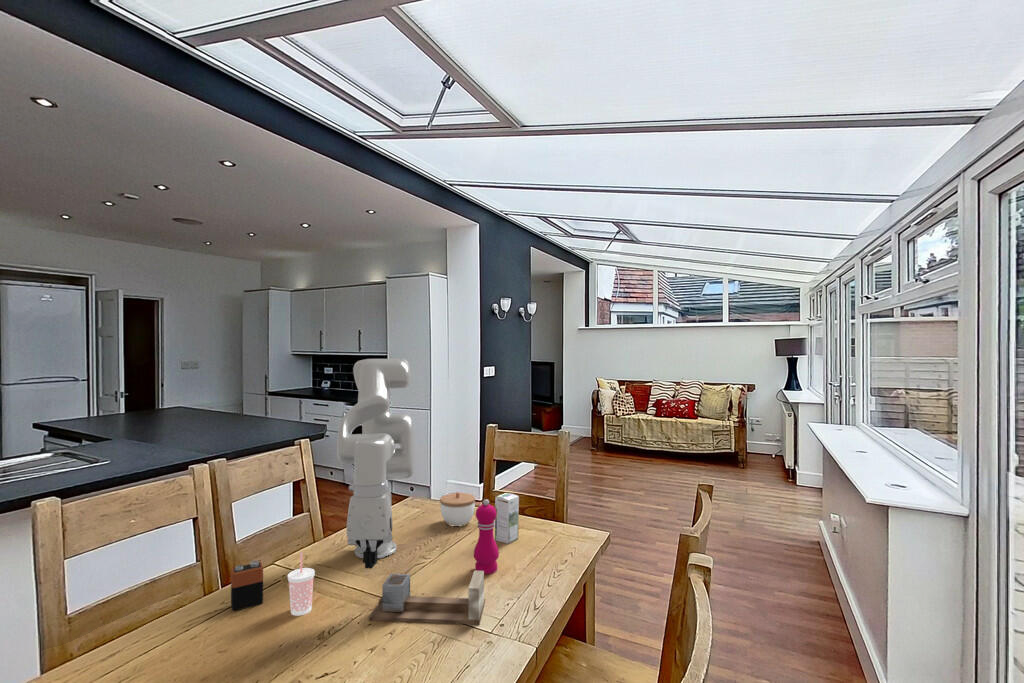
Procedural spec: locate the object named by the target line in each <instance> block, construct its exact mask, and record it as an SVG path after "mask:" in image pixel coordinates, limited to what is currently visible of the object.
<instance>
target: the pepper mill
mask: <svg viewBox="0 0 1024 683" xmlns="http://www.w3.org/2000/svg"><path fill="white" fill-rule="evenodd" d="M496 515H497V512H496V509H495V505H494V506H493V505H492V504H490V501H489V499H483V501H482V504H481V505H480V506H477V508H476V512H475V518H476V521H477V529H478V531H479V532H478V540H477V541H476V542H477V543H476V544H475V547H474V550H473V558H474V560H475V561H476V562H475V563H474V564H475V567H474V568H475V570H474V571H484V575H491V574H494V573H495V572H497V571H498V562H497V560H498V559H499V557H500V556H499V555H500V552H499V547H498V545H497V542H496V540H495V535H494V529H495V518H496Z"/></svg>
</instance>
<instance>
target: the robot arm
mask: <svg viewBox="0 0 1024 683" xmlns="http://www.w3.org/2000/svg"><path fill="white" fill-rule="evenodd" d="M411 375H412V373H411V366H410V363H409V362H408V360H407V359H406V358H365V359H361V360H357V361H356V362H355V363H354V366H353V377H354V382H355V385H356V388H357V390H358V394H357V403H356V404H354V405H353V406H352V407H351V408H350V409H349V410H348V411H347V412H346V413H345V415H344V416H343V417H342V419H341V421H340V423H339V427H338V429H337V430H338V433H337V439H336V440H337V441H336V442H337V443H336V457H337V459H338V461H339V463H341V464H344V465H353V466H354V467H353V469H354V470H353V471H354V472H353V484H349V486H348V490H349V491H352V492H353V495H352V496H350V499H349V504H348V510H347V511H348V512H347V519H346V537H347V539H346V540H347V545H348V546H355V548H354V555H355V556H356V557H357V558H360V559H362V560H363V561H362V562H363V564H364V569H366V570H367V569H370V570H371V569H373V568H374V566H375V565H376V564H377V563H378V559H377V558H379V559H383V558H386V557H385V556H387V557H389V556H391V555H392V553H393V554H395V553H396V551H397V546H398V545H397V544H396V543H395V542H394V541H393V535H392V533H393V513H392V512H393V511H392V492H391V490H390V488H389V487H388V485H387V481H392V480H393V481H394V480H395V481H396V480H405V479H406V480H407V479H409V478H411V477H412V476H413V475H414V471H415V431H414V430H415V429H414V421H413V419H412V417H411V415H409V414H407V413H406V414H405V413H397V414H396V413H393V414H391V412H390V406H391V405H390V403H391V401H390V390H391V389H406V388H408V386H409V385H410V383H411V379H412V378H411V377H412V376H411ZM361 424H362V425H361ZM359 425H361V426H362V428H361V430H362V431H361V432H362V433H355V434H354V433H353V434H351V432H352V431H353V430H354V429H355V428H356V427H358V426H359ZM396 445H397V446H399V447H398V448H396V447H395V446H396ZM388 555H389V556H388Z"/></svg>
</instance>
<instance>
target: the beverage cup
mask: <svg viewBox="0 0 1024 683" xmlns="http://www.w3.org/2000/svg"><path fill="white" fill-rule="evenodd" d="M299 558H300V559H299V561H300V562H299V568H296V569H294V570H292V571H290V572H288V574H287V580H288V587H289V589H288V590H289V602H290V606H289V607H290V614H291V615H293V616H296V617H298V616H299V617H300V616H304V615H306V614H309V613H310V612H311V610H312V608H313V607H312V606H313V605H312V604H313V591H314V590H313V588H314V577H315V573H316V570H315V569H313V568H311V567H303V551H302V552H299Z"/></svg>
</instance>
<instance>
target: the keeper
mask: <svg viewBox="0 0 1024 683" xmlns="http://www.w3.org/2000/svg"><path fill="white" fill-rule="evenodd" d="M381 587H382V595H381V597H382V611H389V612H403V611H404V610H405V600H406V598H407V597H410V596H411V574H408V573H407V574H405V573H404V574H403V573H401V574H400V573H390V574H389V576H388V577H387V578H386V579H385V581H384V583H383V584H382V586H381Z"/></svg>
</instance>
